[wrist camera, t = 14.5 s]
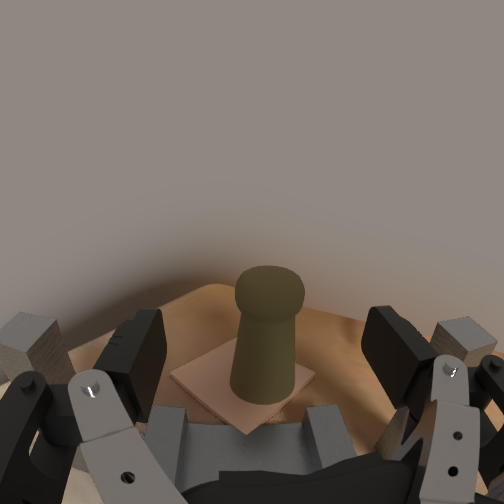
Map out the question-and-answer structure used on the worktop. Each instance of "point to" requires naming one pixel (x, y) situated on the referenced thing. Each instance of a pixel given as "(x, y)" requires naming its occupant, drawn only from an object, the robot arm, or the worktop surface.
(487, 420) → the robot arm
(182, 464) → the grey u-shaped stand
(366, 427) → the worktop surface
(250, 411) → the tile
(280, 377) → the cork
